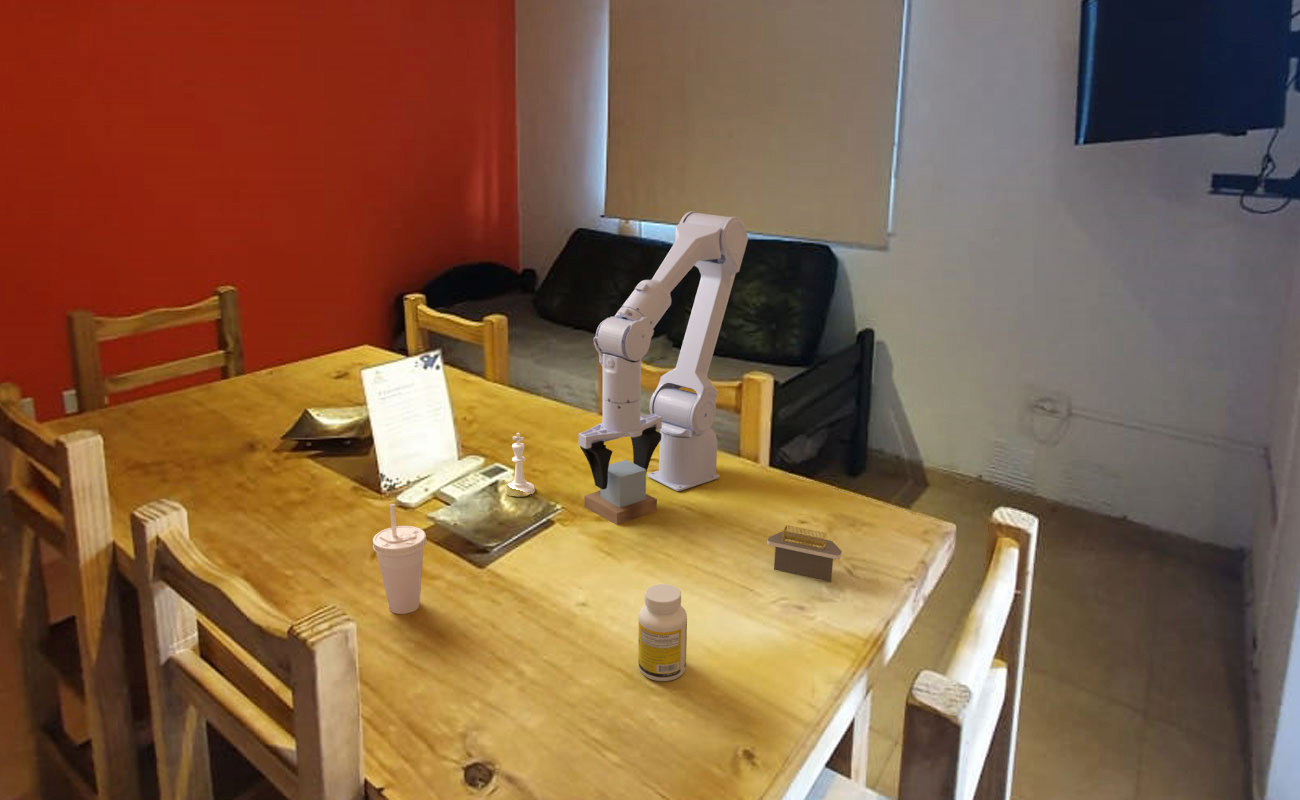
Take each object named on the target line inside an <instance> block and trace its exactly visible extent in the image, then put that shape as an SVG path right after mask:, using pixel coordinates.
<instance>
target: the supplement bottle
mask: <svg viewBox="0 0 1300 800" xmlns="http://www.w3.org/2000/svg"><path fill="white" fill-rule="evenodd" d="M687 615H688V614H687V611H686V609H685V608H684V606H682V592H681V591H680V589H679V588H678V587H677V586H674V585H672V584H667V583H657V584H653V585H651V586H649V587H647V589H645V592H644V605H643V606H642V607H641V609H640V611H639V614H638V669H639V671H640V673H641V674H642V675H643V676H645V677H646V678H647V679H650V680H653V681H657V682H669V681H674V680H677V679H678V678H680V677H681V676H682V675H683V674H684V673H685V670H686V668H687V641H688V640H687V639H688V638H687V637H688V635H687V634H688V632H687V631H688V616H687Z"/></svg>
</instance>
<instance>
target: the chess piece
mask: <svg viewBox="0 0 1300 800" xmlns="http://www.w3.org/2000/svg"><path fill="white" fill-rule="evenodd" d="M512 440H513V441H515V442H514V443H512V445H511V448H512V451H513V454H514V456H513V457H512V458H511V461H512V462H514V463H515V467H514V469H515V470H514V478H513V480H512V481H511V482H509V483H507V484H506V485H508V486H509V487H510V488H512V489H516V490H520V491H523V492H526V493H531V494H532V495H533V494H534V493H535V492H536V489H535V485H534V484H533V483H532V482H530V481H529V482H528V481H527V480H526V479H525V475H524V468H523V462H525V461H526V457H525V456H523V453H524V450H525V443H523V441H524V440H525V439H524V436H521V434H520V433H519V432H516V434H515V435H514V436H513V435H512ZM521 441H522V442H521Z"/></svg>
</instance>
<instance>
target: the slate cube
mask: <svg viewBox="0 0 1300 800" xmlns="http://www.w3.org/2000/svg"><path fill="white" fill-rule="evenodd" d="M599 489H600V490H599V491H600V497H602V498H603V499H605V500H607V501H609V502H610V503H612V504H614V505H616V506H617V507H619V508H621V507H624V506H627V505H631V504H634V503H637V502H640V501H643V500H646V494H647V473H646V469H644V468H642V467H640V466H638V465H636V464H634V463H633V462H631V461H630V460H628V459H624V460H622V461H617V462H614V463H609V467H608V484H607V489H601V488H599Z"/></svg>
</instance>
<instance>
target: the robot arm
mask: <svg viewBox="0 0 1300 800" xmlns="http://www.w3.org/2000/svg"><path fill="white" fill-rule="evenodd" d="M674 233H675V234H674V238H675V240H674V243H673V245H672V246H671V248H670V250H669V252H667V254H666V256H665V258H664V259H663V261H662V262H661V264H660V265H659V267H658V269H657V270H656V272H655V274H654V275H653V277H652V278H651V279H644V280H641V281H640V282H639V283H638V284H637V285H636V286H635V287H634V290H633V291H632V292H631V294H630V295H629V296H628V298H627V299H626V300H625V302H624V303H623V304H622V305H621V307H620V308H619V309H618V310H617V312H616V314H615V315H614V316H610V317H607V318H605V319H604V320H602V321H601V322H600V323H599V325H598V327H597V329H596V331H595V336H594V337H593V345H594V348H595V350H596V352H597V353H598V359H599V363H600V366H601V367H602V390H601V391H602V404H601V405H602V407H601V408H602V420H601V421H602V422H600V423H598V424H596V425H595V426H593V427H591V428H588V429H587V430H584V431H582V432H578V446H579V447H580V449H581V451H582V452H583V455H584V456H585V458H586V460H587V463H588V464H589V467H590V470H591V473H592V476H593V481H594V485H595V486H596V487H597V488H599V489H600V488H601V489H607V484H608V467H609V464H610V461H611V458H612V455H613V450H611V449H610V448H607V444H605V443H606V442H609V441H612V440H613V441H614V440H618V439H620V438H625V437H630V439H631V444H632V453H633V454H632V457H633V458H632V460H633V462H632V463H634V464H636V465H638V466H640V467H642V468H644V469H646V474H647V472H648V469H649V465H650V462H651V460H652V457H653V454H654V452H655V450H656V448H657V447H658V446H659V451H658V453H659V456H658V457H659V461H658V470H656V471H652V472H649V473H648V474H647V477H648V478H649V479H652V480H654V481H656V482H658V483H660V484H661V485H664V486H666V487H668V488H669V489H672V490H674V491H675V492H681V491H684V490H687V489H690V488H694V487H697V486H700V485H703V484H705V483H708V482H711V481H714V480H718V479H719V478H720V475H719V474H718V473H717V462H718V461H717V457H718V439H717V438H718V437H717V435H716V433H715V430H714V429H713V427H712V425H713V422H714V421H715V419H716V418H715V417H716V410H717V409H716V402H717V397H718V394H719V393H718V392H719V391H718V390H717V389H716V387H715V386H714V384H713V383H712V381H711V380H710V378H709V377H708V374H709V370H710V367H711V363H712V359H713V357H714V356H713V355H714V352H715V348H716V345H717V342H718V338H719V333H720V330H721V328H722V322H723V320H724V316H725V312H726V309H727V305H728V303H729V298H730V295H731V291H732V287H733V284H734V282H735V277H736V274H737V273H739V272H740V269H741V266H742V263H743V258H744V255H745V252H746V248H747V244H748V241H749V237H748V232H747V228H746V225H745V223H744V221H743V219H741V217H739V216H726V215H718V214H709V213H700V212H696V211H693V210H692V211H688V212H686V213H685V214H684V215H683V216H682V218H681V219H680V221H679V223H678V224H677V225H676V226H675V232H674ZM693 267H696V268H697V269H698V271H699V273H700V280H699V284H698V287H697V291H696V294H695V298H694V302H693V304H692V305H693V306H692V309H691V313H690V316H689V319H688V323H687V325H686V330H685V334H684V337H683V340H682V345H681V349H680V351H679V355H678V358H677V361H676V366H675V367H674V368H673V369H671V370H669V371H667V372H666V373H664V374H662V375H661V376H660V377H659V378H660V379H659V382H658V385H657V387H656V389H655V391H654V392H653V393H652V395H651V397H650V400H649V413H650V414H646V415H641V405H642V404H641V402H642V401H641V395H642V394H641V392H642V389H641V388H642V385H641V383H642V359H643V357H644V356H645V355H646V354H647V353H648V352H649V349H650V347H651V340H652V337H653V336H654V333H655V330H654V329H655V327H656V325H657V324H658V323H659V321H660V320H661V319H662V317H663V316H664V315H665V313H666V311H667V310H668V309H669V308H670V307H671V305H672V296H671V292H673V290H674V289H675V287H677V285H678V284H679V283H680V282H681V281H682V280H683V278H684V277H685V276H686V275H687V274H688V272H689V271H691V270H692V269H693ZM681 388H686V389H689V390H693V391H695V392H693V391H689V390H685V389H681ZM658 430H659V431H658ZM658 444H659V445H658Z"/></svg>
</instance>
